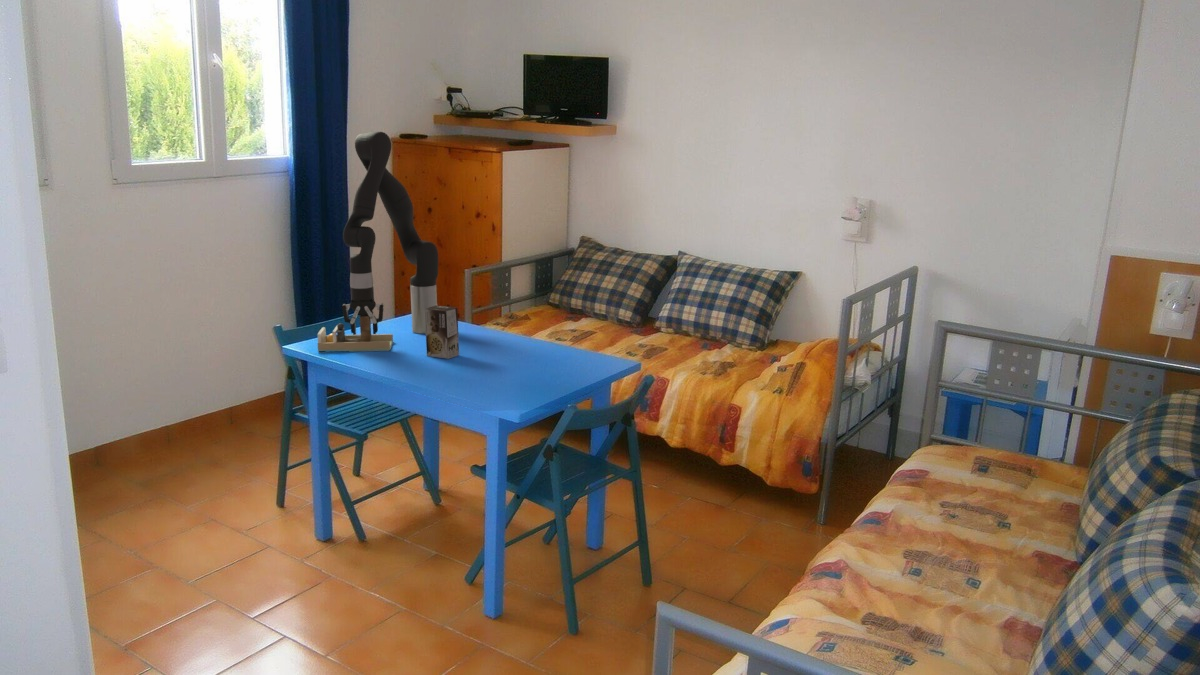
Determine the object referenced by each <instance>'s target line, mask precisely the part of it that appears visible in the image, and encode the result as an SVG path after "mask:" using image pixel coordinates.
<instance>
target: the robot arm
mask: <svg viewBox="0 0 1200 675" xmlns="http://www.w3.org/2000/svg"><path fill="white" fill-rule="evenodd" d="M354 148H355V152H356V155H357V156H358V158H359V160H360V162H361V163H362V165H363V166H364V168H365V170H366V173H365V175H364V177H363V179H362V180H361V182H360V183H359V185H358V187H357V188H356V192H355V194H354V201H353V204H352V205H353V207H352V212H351V214H350V216H349V218H348V220H347V222H346V224H345V226H344V228H343V232H342V240H343V243H344V244H345V246H347V247H349V248H360V251H359V253H356V254H352V255H350V257H349V271H350V275H349V286H350V303H347V304H346V303H343V304H342V306H341V310H342V314H343V320H344V322H345V323H348V324H349V325H350V332H351V334H352V335H357V327H356V326H357V325H356V324H357V323H356V319H357V317H358V316H359V317H360V316H361V315H369V317H370V320H371V322H372V334H378V328H379V326H378V324H379V323H381V322H382V321H383V318H384V309H385V308H384V307H385V304H384V302H383V303H382V302H381V303H377V302H376V301H375V293H374V290H375V289H374V288H375V287H374V278H373V276H374V275H373V269H372V268H373V267H372V259H373V258H372V257H373V253H374V248H375V246H376V233H375V231H374V229H373V228H372V227H370V226H364V225H363V224H364V223H365V222H369V221H371V220H373V219H374V215H375V210H376V205H377V204H376V203H377V198H378V194H379V198H380V200H381V202H382V204H383V207H384V208H385V210H386V213H387V215H388V217H389V219H390V221H391V224H392V225H393V227H394V230H395V232H396V234H397V237H398V240H399V243H400V246H401V249H402V251H403V254H404V257H405V259H406V260H407V261H408V263H410V264H411V265H414V266H416V272H415V275H413V276H411V277H410V279H409V282H410V284H409V287H410V307H411V310H410V311H411V328H412V329H411V331H412V332H413V334H414V333H415V334H426V328H425V309H426V308H429V307H432V306H435V305H437V306H438V298H437V296H438V294H437V280H438V278H439V277H438V276H439V251H438V248H437V246H436V245H435V243H434V242H432V241H427V240H423V239H421V238H420V236H419V233H418V232H417V229H416V227H415V224H414V205H413V203H412V199H411V198H410V196H409V194H408V191H407V189H406V187H405V186H404V185H403V184H402V182H400V181H399V180H398V178H396V177H395V176H394V175H393V174H392V173H391V172H390V171H389V170H388V169H387V168H386V167H387V165H388V162H389V160H390V156H391V152H392V140H391V138H390V137H389V135H388V134H387V133H385V132H383V131H371V132H362V133H360V134H359V133H358V135H357V136H356V138H355V139H354ZM362 225H363V226H362ZM350 308H351V309H352V311H353V312H354V313H353V314H352V316H351V318H350V317H349V310H350ZM375 308H377V310H378V318H377V317H376V315H375V313H374V309H375Z"/></svg>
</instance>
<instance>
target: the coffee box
mask: <svg viewBox="0 0 1200 675" xmlns="http://www.w3.org/2000/svg"><path fill="white" fill-rule="evenodd" d="M425 328H426V333H425V341H426V342H425V344H426V346H425V347H426V356H427V357H433V358H440V359H447V360H450V359H452V358H455V357H458V356H460V347H459V318H458V307H455V306H448V305H447V306H444V305H438V304H437V305H435V306H432V307H429V308H426V309H425Z"/></svg>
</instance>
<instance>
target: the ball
mask: <svg viewBox="0 0 1200 675" xmlns="http://www.w3.org/2000/svg"><path fill="white" fill-rule="evenodd" d="M336 337H337V342H338V336H337V333H336ZM327 342H328V343H330V342H333V332H332V333H329V334H328V336H327Z"/></svg>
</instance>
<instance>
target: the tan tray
mask: <svg viewBox="0 0 1200 675" xmlns="http://www.w3.org/2000/svg"><path fill="white" fill-rule="evenodd" d="M328 335H329V334H328ZM328 335H327V334H326V343H318V342H317V352H318V351H349V352H379V351H380V352H382V351H383V352H385V351H390V350H391V348H392V346H393V344H394V334H393V333H382V334H381V333H379V334H378V333H376V334H373V333H371V339H372V340H371V342H336V343H333V342H330V343H328V342H327V336H328ZM345 339H361V334H356V335H353V334H345Z"/></svg>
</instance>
